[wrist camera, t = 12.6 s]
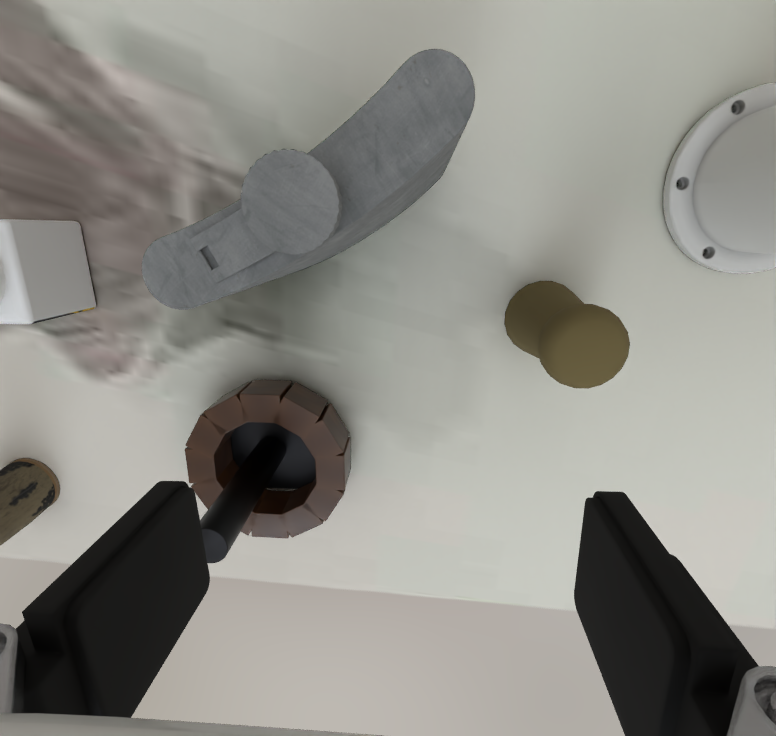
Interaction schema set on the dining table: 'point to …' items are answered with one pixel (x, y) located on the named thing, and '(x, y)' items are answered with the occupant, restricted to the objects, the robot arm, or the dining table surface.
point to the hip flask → (322, 189)
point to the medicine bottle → (42, 271)
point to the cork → (567, 334)
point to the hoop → (292, 412)
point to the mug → (24, 494)
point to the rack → (254, 480)
